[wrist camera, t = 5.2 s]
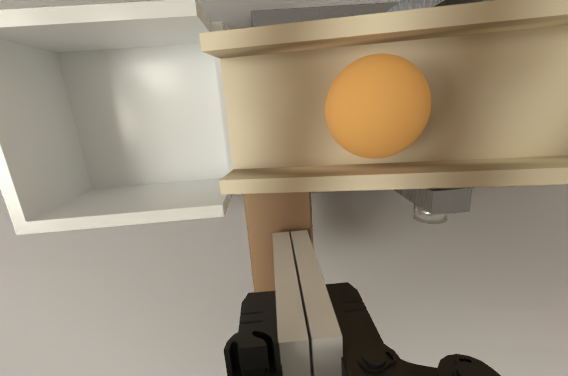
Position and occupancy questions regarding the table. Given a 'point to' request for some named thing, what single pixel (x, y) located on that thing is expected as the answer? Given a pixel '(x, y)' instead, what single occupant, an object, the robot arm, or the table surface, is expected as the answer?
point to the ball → (378, 106)
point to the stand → (429, 201)
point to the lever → (441, 124)
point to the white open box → (110, 116)
